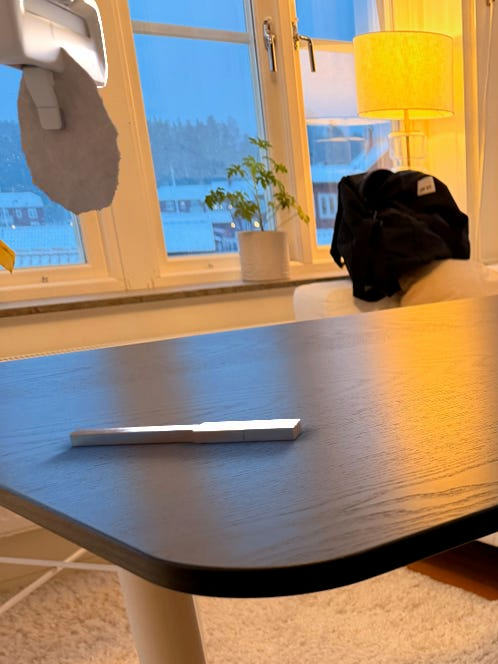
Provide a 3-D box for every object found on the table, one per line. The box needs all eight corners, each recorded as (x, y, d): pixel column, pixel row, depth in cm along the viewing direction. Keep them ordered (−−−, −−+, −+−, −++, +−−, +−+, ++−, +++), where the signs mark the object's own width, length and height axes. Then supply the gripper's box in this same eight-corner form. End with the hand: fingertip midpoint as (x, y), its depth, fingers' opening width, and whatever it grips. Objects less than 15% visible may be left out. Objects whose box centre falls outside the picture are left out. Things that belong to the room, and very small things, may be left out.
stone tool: (134, 214, 91) (103, 40, 84) (131, 213, 88) (99, 33, 82) (37, 216, 89) (-1, 38, 82) (31, 215, 86) (-9, 31, 80)
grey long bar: (68, 448, 70) (64, 436, 69) (83, 439, 72) (80, 427, 72) (294, 440, 69) (293, 427, 69) (302, 431, 72) (300, 418, 71)
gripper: (5, -82, 70) (46, 120, 76) (104, -20, 88) (132, 138, 94) (-74, -79, 70) (-26, 122, 76) (42, -18, 88) (73, 140, 94)
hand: (62, 131), depth 85 cm, fingers closed on stone tool, 2 cm apart
